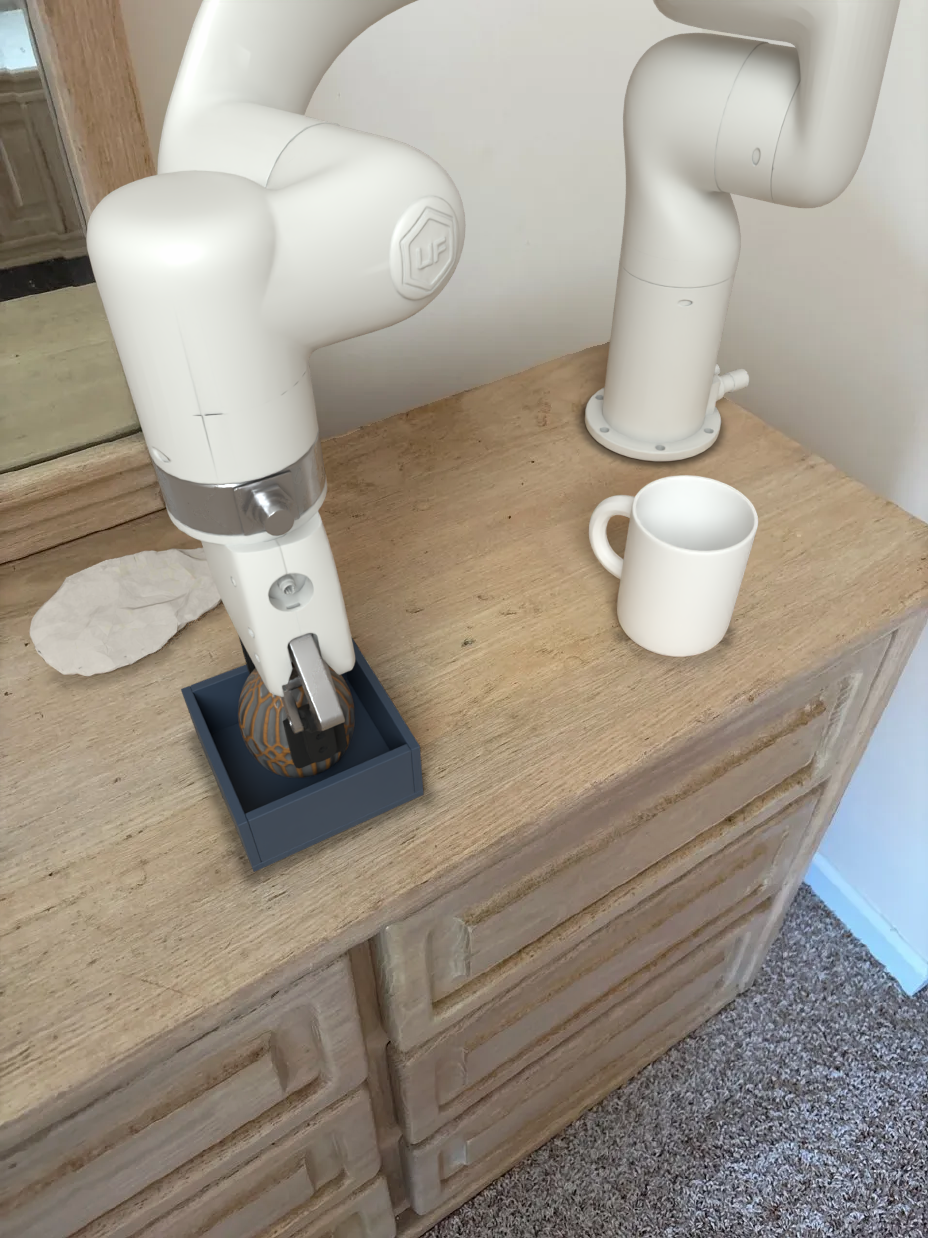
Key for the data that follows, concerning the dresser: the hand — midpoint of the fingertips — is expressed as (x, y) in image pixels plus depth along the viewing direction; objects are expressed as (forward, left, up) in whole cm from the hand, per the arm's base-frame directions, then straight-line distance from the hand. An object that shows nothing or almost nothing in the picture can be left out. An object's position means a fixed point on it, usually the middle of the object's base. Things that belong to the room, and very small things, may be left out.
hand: (296, 708), depth 54 cm
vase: (0, 0, -4) cm, 4 cm away
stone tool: (+6, -18, -6) cm, 20 cm away
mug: (-28, -1, -6) cm, 29 cm away
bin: (0, 0, -6) cm, 6 cm away
